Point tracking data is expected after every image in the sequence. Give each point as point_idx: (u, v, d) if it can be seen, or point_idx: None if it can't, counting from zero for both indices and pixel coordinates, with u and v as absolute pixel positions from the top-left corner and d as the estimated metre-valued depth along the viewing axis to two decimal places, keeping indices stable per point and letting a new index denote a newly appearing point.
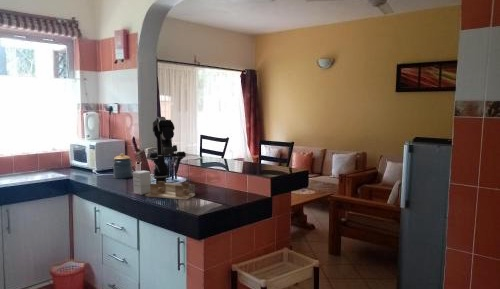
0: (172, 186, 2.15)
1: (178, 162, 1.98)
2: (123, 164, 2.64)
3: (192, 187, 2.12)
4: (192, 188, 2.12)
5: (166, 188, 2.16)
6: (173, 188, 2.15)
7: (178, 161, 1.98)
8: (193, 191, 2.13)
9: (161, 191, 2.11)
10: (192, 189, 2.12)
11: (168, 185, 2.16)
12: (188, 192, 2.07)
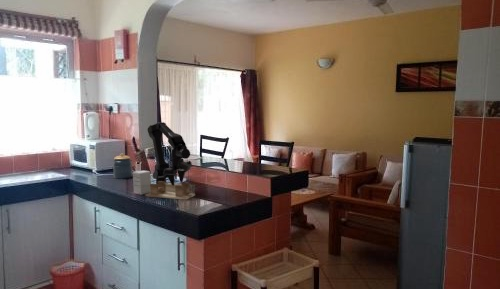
0: (172, 186, 2.15)
1: (183, 174, 2.20)
2: (123, 164, 2.64)
3: (192, 187, 2.12)
4: (192, 188, 2.12)
5: (166, 188, 2.16)
6: (173, 188, 2.15)
7: (184, 174, 2.20)
8: (193, 191, 2.13)
9: (161, 191, 2.11)
10: (192, 189, 2.12)
11: (168, 185, 2.16)
12: (188, 192, 2.07)
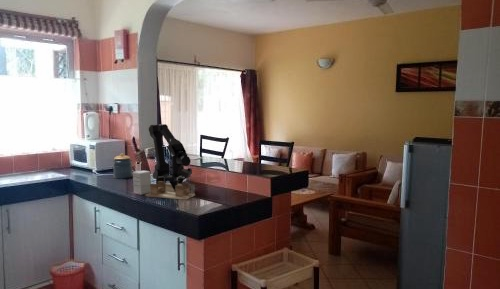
0: None
1: (181, 182, 2.17)
2: (123, 164, 2.64)
3: (192, 187, 2.12)
4: (192, 188, 2.12)
5: (166, 188, 2.16)
6: None
7: (182, 181, 2.17)
8: (193, 191, 2.13)
9: (161, 191, 2.11)
10: (192, 189, 2.12)
11: (168, 185, 2.16)
12: (188, 192, 2.07)
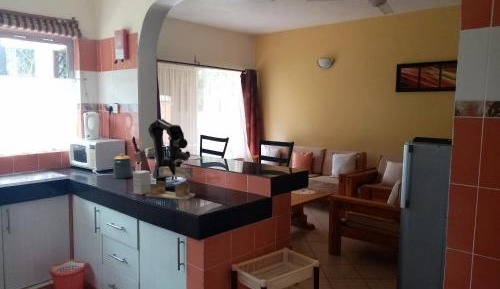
0: None
1: (179, 166, 2.15)
2: (123, 164, 2.64)
3: (190, 170, 2.09)
4: (190, 171, 2.09)
5: (164, 171, 2.13)
6: None
7: (180, 165, 2.15)
8: (191, 174, 2.10)
9: (161, 191, 2.11)
10: (190, 172, 2.09)
11: (166, 168, 2.13)
12: (188, 192, 2.07)
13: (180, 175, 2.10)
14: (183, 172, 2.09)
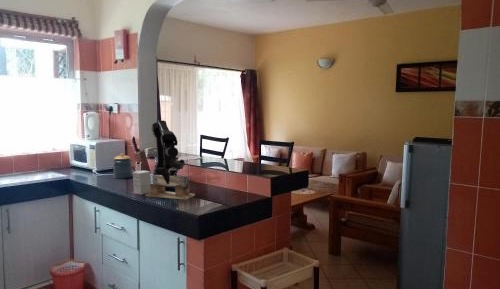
0: None
1: (174, 174, 2.09)
2: (123, 164, 2.64)
3: (185, 179, 2.04)
4: (185, 180, 2.04)
5: (158, 180, 2.08)
6: None
7: (174, 173, 2.09)
8: (186, 183, 2.05)
9: (161, 191, 2.11)
10: (185, 181, 2.04)
11: (160, 177, 2.08)
12: (188, 192, 2.07)
13: (174, 184, 2.05)
14: (178, 181, 2.04)
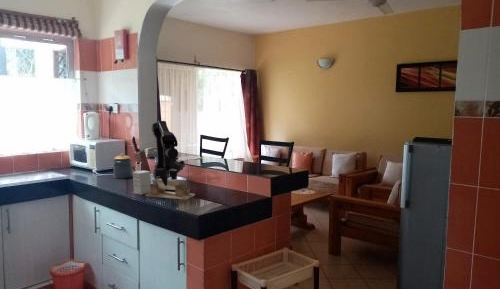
0: None
1: (176, 175, 2.11)
2: (123, 164, 2.64)
3: (185, 183, 2.04)
4: (185, 184, 2.04)
5: (158, 184, 2.08)
6: None
7: (176, 174, 2.11)
8: (186, 187, 2.05)
9: (161, 191, 2.11)
10: (185, 185, 2.04)
11: (160, 181, 2.08)
12: (188, 192, 2.07)
13: (174, 188, 2.05)
14: None
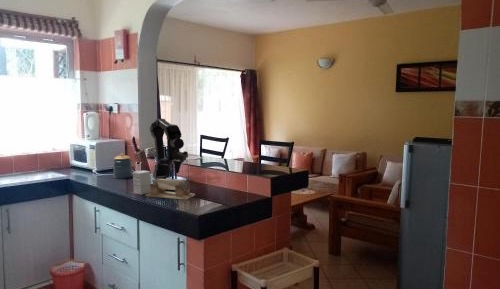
0: (164, 182, 2.07)
1: (180, 165, 2.15)
2: (123, 164, 2.64)
3: (185, 183, 2.04)
4: (185, 184, 2.04)
5: (158, 184, 2.08)
6: (165, 184, 2.07)
7: (180, 164, 2.15)
8: (186, 187, 2.05)
9: (161, 191, 2.11)
10: (185, 185, 2.04)
11: (160, 181, 2.08)
12: (188, 192, 2.07)
13: (174, 188, 2.05)
14: None
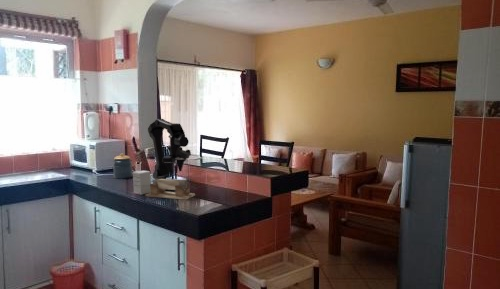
0: (164, 182, 2.07)
1: (182, 163, 2.18)
2: (123, 164, 2.64)
3: (185, 183, 2.04)
4: (185, 184, 2.04)
5: (158, 184, 2.08)
6: (165, 184, 2.07)
7: (183, 162, 2.18)
8: (186, 187, 2.05)
9: (161, 191, 2.11)
10: (185, 185, 2.04)
11: (160, 181, 2.08)
12: (188, 192, 2.07)
13: (174, 188, 2.05)
14: None
